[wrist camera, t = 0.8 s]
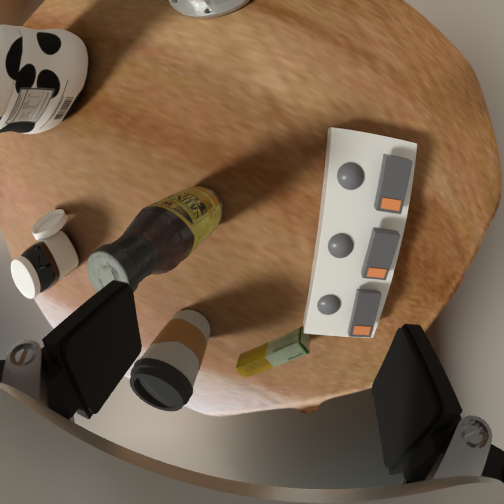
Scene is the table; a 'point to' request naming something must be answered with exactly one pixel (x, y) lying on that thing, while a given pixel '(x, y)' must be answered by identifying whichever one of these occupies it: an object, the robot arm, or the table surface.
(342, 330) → the rocker switch panel
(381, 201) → the rocker
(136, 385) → the coffee cup
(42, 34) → the milk container
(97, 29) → the table surface
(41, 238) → the spread jar
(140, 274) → the sauce bottle
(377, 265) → the rocker middle
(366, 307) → the rocker
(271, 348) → the medication box
